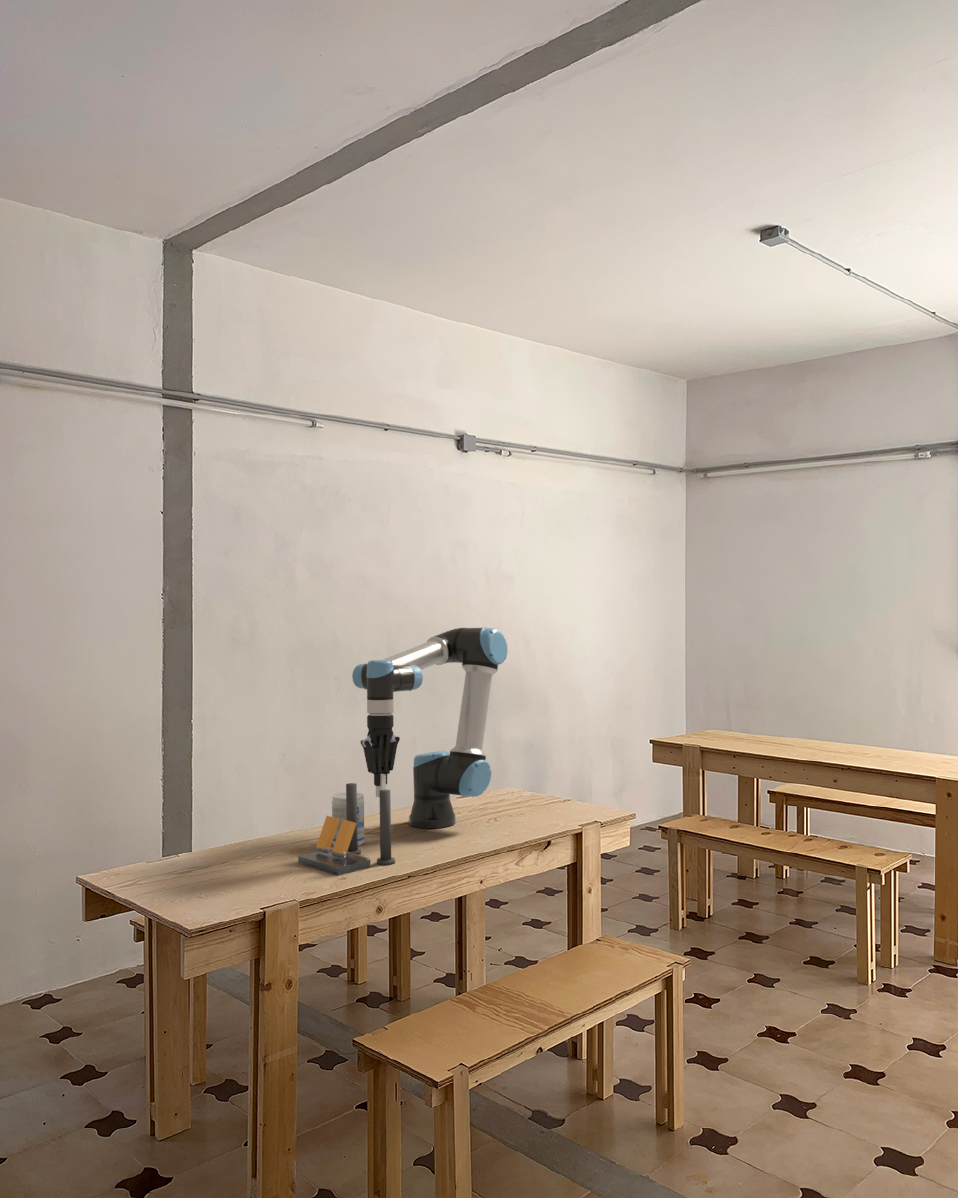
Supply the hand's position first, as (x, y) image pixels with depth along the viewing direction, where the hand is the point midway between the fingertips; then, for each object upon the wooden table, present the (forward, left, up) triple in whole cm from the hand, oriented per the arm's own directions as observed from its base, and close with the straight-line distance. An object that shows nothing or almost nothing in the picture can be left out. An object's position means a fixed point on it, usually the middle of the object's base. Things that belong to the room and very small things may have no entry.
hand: (380, 796), depth 277 cm
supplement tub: (-1, -17, -17) cm, 24 cm away
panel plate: (+16, -2, -17) cm, 23 cm away
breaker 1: (+16, 0, -15) cm, 21 cm away
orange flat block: (+16, -8, -15) cm, 23 cm away
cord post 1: (+5, -8, -17) cm, 19 cm away
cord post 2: (+5, +7, -17) cm, 19 cm away
